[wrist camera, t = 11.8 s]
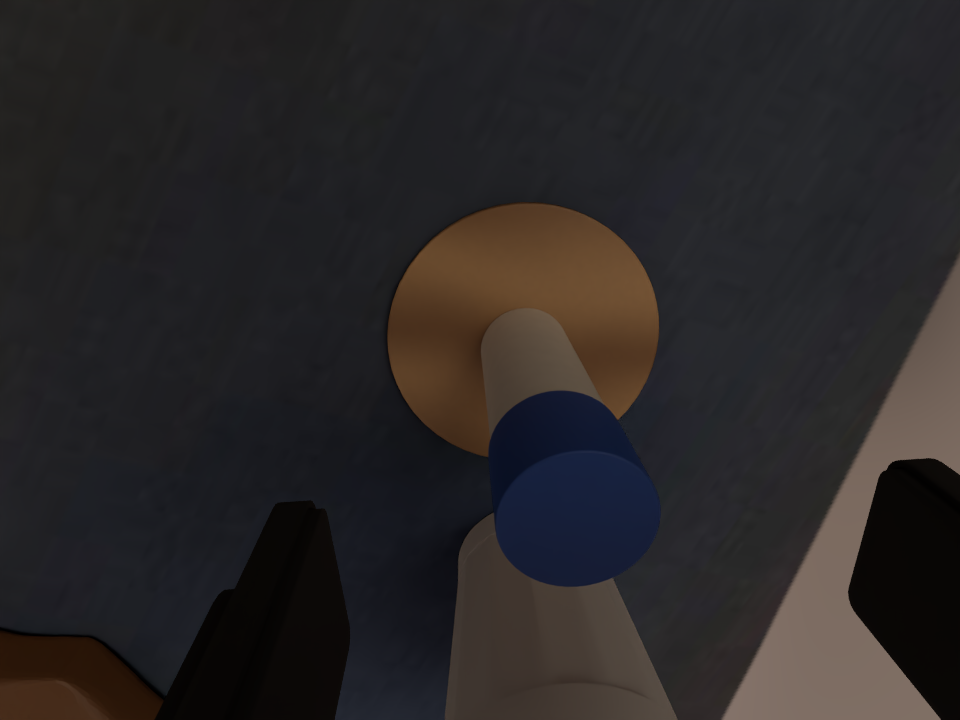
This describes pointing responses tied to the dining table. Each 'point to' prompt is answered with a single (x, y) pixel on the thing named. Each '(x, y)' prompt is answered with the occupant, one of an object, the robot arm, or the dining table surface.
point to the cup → (543, 646)
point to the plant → (69, 681)
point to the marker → (559, 460)
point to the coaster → (513, 285)
